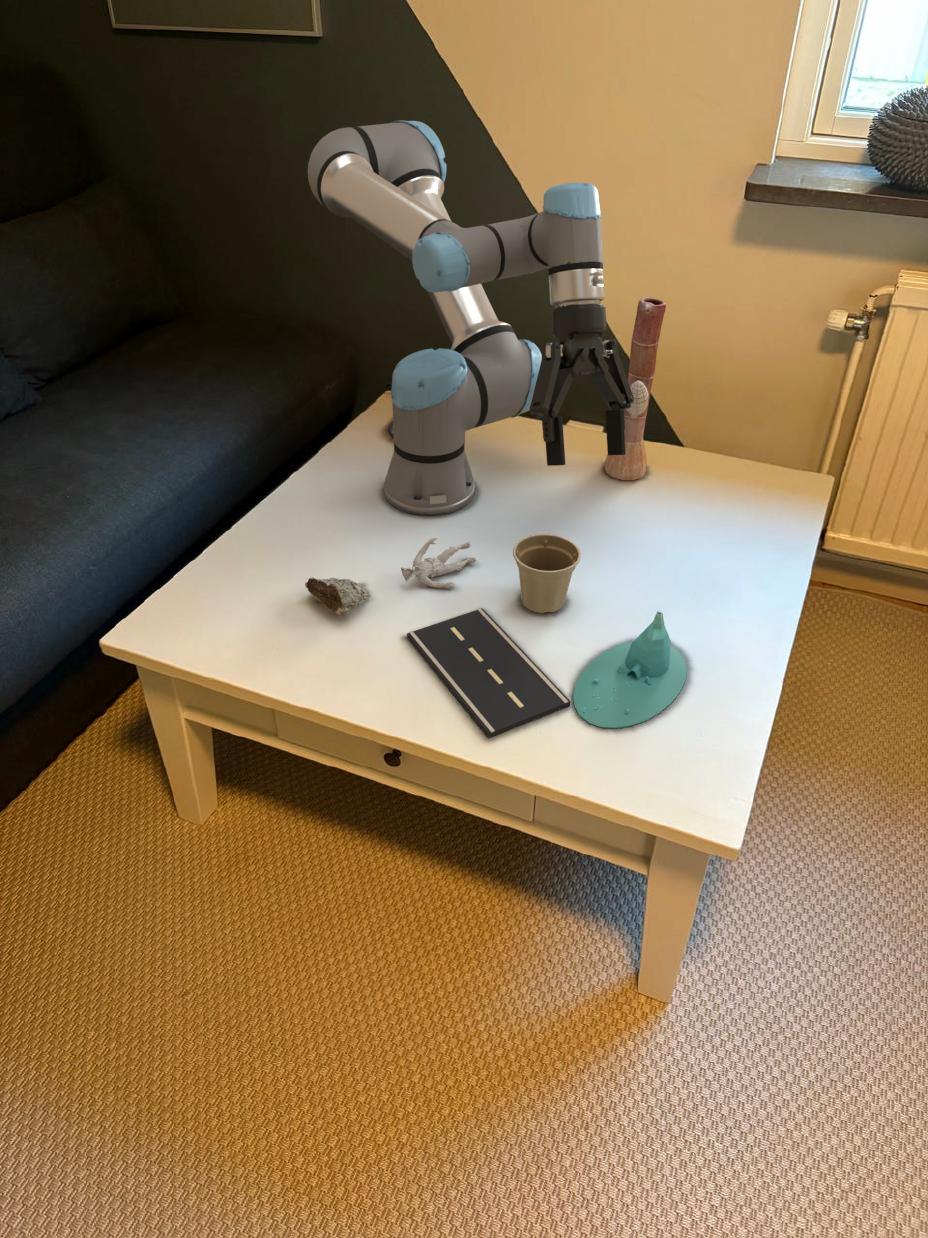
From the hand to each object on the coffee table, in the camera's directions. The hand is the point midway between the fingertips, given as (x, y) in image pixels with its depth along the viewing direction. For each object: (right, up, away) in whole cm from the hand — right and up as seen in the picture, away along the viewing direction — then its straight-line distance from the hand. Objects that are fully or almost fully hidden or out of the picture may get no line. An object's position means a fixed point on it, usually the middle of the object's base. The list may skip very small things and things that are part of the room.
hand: (587, 460), depth 136 cm
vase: (+11, +4, +33) cm, 35 cm away
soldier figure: (-21, -16, +6) cm, 28 cm away
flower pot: (-6, -20, +1) cm, 21 cm away
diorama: (+4, -31, -12) cm, 34 cm away
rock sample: (-36, -20, 0) cm, 41 cm away
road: (-15, -30, -11) cm, 35 cm away
